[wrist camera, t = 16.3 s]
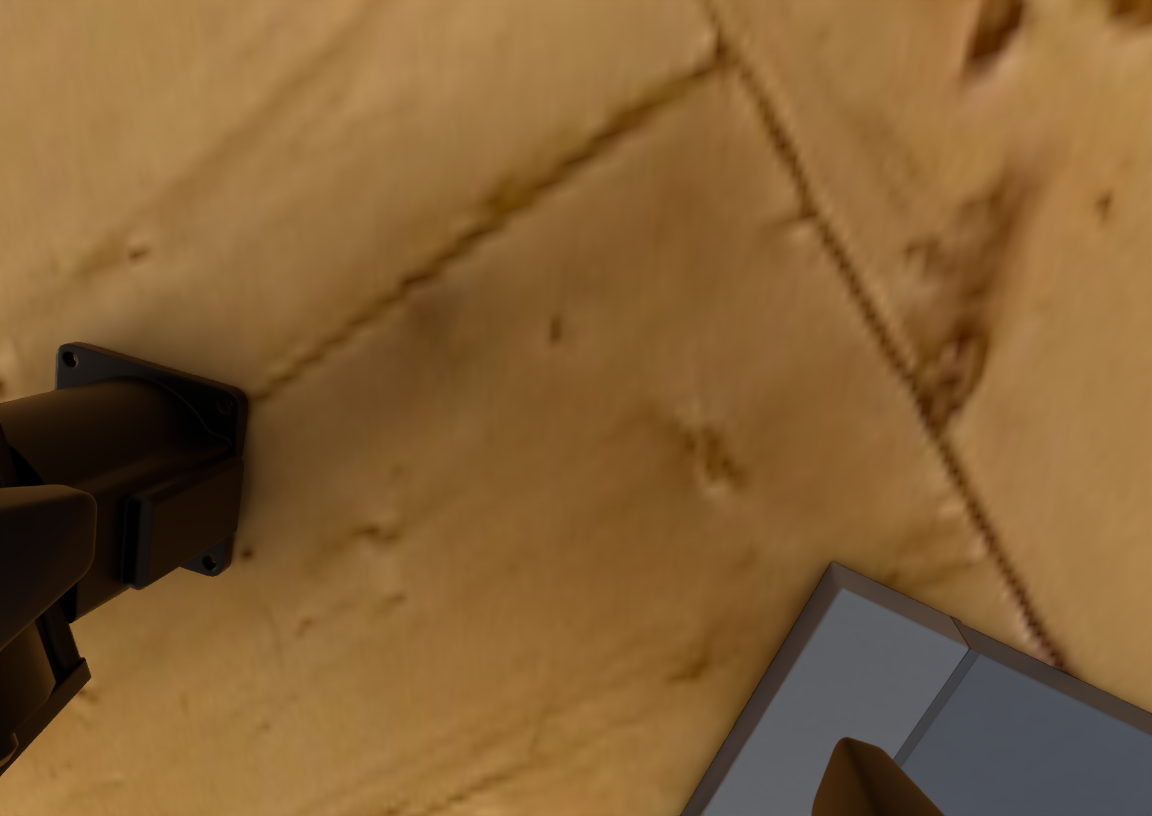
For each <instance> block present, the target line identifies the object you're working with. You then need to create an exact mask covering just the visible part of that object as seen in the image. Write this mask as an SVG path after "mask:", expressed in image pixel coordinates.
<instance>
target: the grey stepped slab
mask: <svg viewBox="0 0 1152 816" xmlns="http://www.w3.org/2000/svg"><path fill="white" fill-rule="evenodd" d="M844 737H850V738H853V739H856V740H859V741H862V742H866V743H869V744H872V745H875V746H878V747H880V748H881V749H883V750H884V751H885V752H886V753H887V754H888V755H889V756H890V757H891V758H892V759H893V760H894V762H895V763H896V764H897V765H898V766H899V767H900V768H901V769H902V770H903V771H904V772H905V773H906V774H907V775H908V777H909V778H910V779H911V780H912V781H913V782H914V783H915V784H916V785H917V786H918V787H919V788H920V789H921V790H922V792H923V793H924V794H925V795H926V796H927V797H928V798H929V799H930V800H931V801H932V802H933V803H934V804H935V805H936V806H937V808H938V809H939V810H940V811H941V812H942V813H943V814H944V815H945V816H1152V714H1150V713H1148V712H1146V711H1144V710H1142V709H1139V708H1137V707H1135V706H1133V705H1131V704H1129V703H1127V702H1125V701H1122V700H1120V699H1118V698H1116V697H1114V696H1112V695H1110V694H1108V693H1106V692H1103V691H1101V690H1099V689H1097V688H1095V687H1093V686H1091V685H1089V684H1087V683H1084V682H1082V681H1080V680H1078V679H1076V678H1074V677H1072V676H1070V675H1067V674H1065V673H1063V672H1061V671H1059V670H1057V669H1055V668H1053V667H1051V666H1048V665H1046V664H1044V663H1042V662H1040V661H1038V660H1036V659H1034V658H1032V657H1029V656H1027V655H1025V654H1023V653H1021V652H1019V651H1017V650H1015V649H1012V648H1010V647H1008V646H1006V645H1004V644H1002V643H1000V642H998V641H996V640H993V639H991V638H989V637H987V636H985V635H983V634H981V633H979V632H977V631H974V630H972V629H970V628H968V627H966V626H964V625H962V623H961V622H960V621H959V620H957V619H955V618H953V617H949V616H947V615H945V614H943V613H940V612H938V611H936V610H934V609H932V608H930V607H928V606H926V605H924V604H921V603H919V602H917V601H915V600H913V599H911V598H909V597H907V596H904V595H902V594H900V593H898V592H896V591H894V590H892V589H890V588H888V587H885V586H883V585H881V584H879V583H877V582H875V581H873V580H871V579H868V578H866V577H864V576H862V575H860V574H858V573H856V572H854V571H852V570H849V569H847V568H845V567H843V566H841V565H839V564H837V563H834V562H832V563H831V565H830V566H829V568H828V570H827V571H826V573H825V575H824V576H823V578H822V580H821V581H820V583H819V585H818V586H817V588H816V590H815V591H814V593H813V595H812V596H811V598H810V600H809V601H808V603H807V605H806V606H805V608H804V610H803V612H802V613H801V615H800V617H799V618H798V620H797V622H796V623H795V625H794V627H793V628H792V630H791V632H790V633H789V635H788V637H787V638H786V640H785V642H784V643H783V645H782V647H781V648H780V650H779V652H778V653H777V655H776V657H775V658H774V660H773V662H772V664H771V665H770V667H769V669H768V670H767V672H766V674H765V675H764V677H763V679H762V680H761V682H760V684H759V685H758V687H757V689H756V690H755V692H754V694H753V695H752V697H751V699H750V700H749V702H748V704H747V705H746V707H745V709H744V710H743V712H742V714H741V715H740V717H739V719H738V721H737V722H736V724H735V726H734V727H733V729H732V731H731V732H730V734H729V736H728V737H727V739H726V741H725V742H724V744H723V746H722V747H721V749H720V751H719V752H718V754H717V756H716V757H715V759H714V761H713V762H712V764H711V766H710V767H709V769H708V771H707V772H706V774H705V776H704V778H703V779H702V781H701V783H700V784H699V786H698V788H697V789H696V791H695V793H694V794H693V796H692V798H691V799H690V801H689V803H688V804H687V806H686V808H685V809H684V811H683V813H682V814H681V816H811V813H812V807H813V802H814V798H815V795H816V793H817V790H818V788H819V785H820V782H821V780H822V777H823V775H824V772H825V770H826V767H827V765H828V762H829V760H830V757H831V755H832V752H833V750H834V747H835V745H836V744H837V742H838V741H839V740H840V739H842V738H844Z"/></svg>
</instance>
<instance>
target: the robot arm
mask: <svg viewBox="0 0 1152 816" xmlns="http://www.w3.org/2000/svg"><path fill="white" fill-rule="evenodd" d="M73 355H75V356H76V359H77V363H76V361H75V360H74V356H73ZM227 398H228V399H230V400H231V402H232V403H233V409H230V408H229V407H228V405H227V402H226V400H227ZM247 412H248V400H247V398H246V396H245V394H244V393H243V392H242V391H241V390H240V389H238V388H236V387H233V386H229V385H226V384H222V383H219V382H216V381H212V380H209V379H205V378H202V377H198V376H195V375H191V374H188V373H185V372H181V371H178V370H174V369H171V368H167V367H164V366H160V365H157V364H154V363H150V362H147V361H143V360H140V359H136V358H133V357H129V356H126V355H123V354H119V353H116V352H112V351H109V350H105V349H102V348H98V347H95V346H92V345H88V344H85V343H81V342H74V343H67V344H64V345H61V346H60V347H59V349H58V350H57V354H56V374H55V391H51V392H47V393H43V394H38V395H34V396H30V397H26V398H21V399H17V400H13V401H8V402H4V403H0V776H1V775H2V774H3V773H4V772H5V771H6V770H7V769H8V768H9V766H10V765H11V764H12V763H13V762H14V761H15V760H16V759H17V758H18V757H19V756H20V754H21V753H22V752H23V751H24V750H25V749H26V748H27V747H28V746H29V745H30V744H31V743H32V741H33V740H34V739H35V738H36V737H37V736H38V735H39V734H40V733H41V732H42V731H43V729H44V728H45V727H46V726H47V725H48V724H49V723H50V722H51V721H52V720H53V719H54V718H55V716H56V715H57V714H58V713H59V712H60V711H61V710H62V709H63V708H64V707H65V706H66V705H67V703H68V702H69V701H70V700H71V699H72V698H73V697H74V696H75V695H76V694H77V693H78V691H79V690H80V689H81V688H82V687H83V686H84V685H85V684H86V683H87V682H88V681H89V680H90V678H91V674H90V671H89V668H88V665H87V662H86V659H85V658H84V657H80V655H79V652H78V649H77V646H76V643H75V640H74V638H73V635H72V632H71V629H70V626H69V623H70V624H71V623H72V622H74V621H76V620H77V619H79V618H81V617H82V616H84V615H86V614H87V613H89V612H91V611H92V610H94V609H96V608H97V607H99V606H101V605H102V604H104V603H106V602H107V601H109V600H111V599H112V598H114V597H116V596H117V595H119V594H121V593H122V592H124V591H126V590H127V589H129V588H133V589H136V590H141V589H144V588H145V587H147V586H148V585H150V584H152V583H153V582H155V581H157V580H158V579H160V578H161V577H163V576H165V575H166V574H168V573H170V572H171V571H173V570H175V569H176V568H178V567H182V568H185V569H188V570H191V571H194V572H197V573H200V574H203V575H206V576H212V577H214V576H217V575H219V574H220V573H222V572H223V571H225V570H226V569H227V568H228V567H229V565H230V562H231V555H232V546H233V537H234V533H235V532H236V530H237V525H238V516H239V507H240V498H241V490H242V481H243V472H244V461H243V458H242V457H243V448H244V439H245V430H246V421H247ZM210 556H211V557H213V558H214V559H215V561H216V564H215V563H214V562H213V561H212V560H211V557H210ZM811 816H945V815H944V814H943V813H942V812H941V811H940V810H939V809H938V808H937V806H936V805H935V804H934V803H933V802H932V801H931V800H930V799H929V798H928V797H927V796H926V795H925V794H924V793H923V792H922V790H921V789H920V788H919V787H918V786H917V785H916V784H915V783H914V782H913V781H912V780H911V779H910V778H909V777H908V775H907V774H906V773H905V772H904V771H903V770H902V769H901V768H900V767H899V766H898V765H897V764H896V763H895V762H894V760H893V759H892V758H891V757H890V756H889V755H888V754H887V753H886V752H885V751H884V750H883V749H881V748H880V747H878V746H875V745H872V744H869V743H866V742H862V741H859V740H856V739H853V738H850V737H844V738H842V739H840V740H839V741H838V742H837V744H836V745H835V747H834V750H833V752H832V755H831V757H830V760H829V762H828V765H827V767H826V770H825V772H824V775H823V777H822V780H821V782H820V785H819V788H818V790H817V793H816V795H815V798H814V802H813V807H812V813H811Z"/></svg>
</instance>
